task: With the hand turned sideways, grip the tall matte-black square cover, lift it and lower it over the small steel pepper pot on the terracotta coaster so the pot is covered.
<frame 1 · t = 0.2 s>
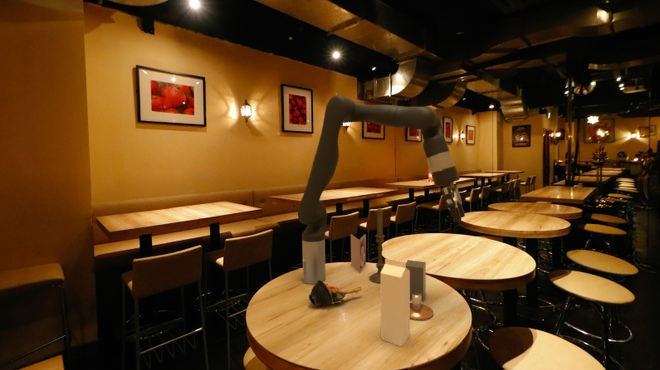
hand: (459, 219, 91), 31 cm above the table, tool tilted 20°, fingers open, 8 cm apart
black cover: (415, 296, 107), on the table
candlestick holder: (380, 279, 123), on the table
milk: (395, 338, 83), on the table
greeting card: (356, 268, 137), on the table
fried shrimp in bowl: (335, 303, 104), on the table
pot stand: (416, 312, 96), on the table
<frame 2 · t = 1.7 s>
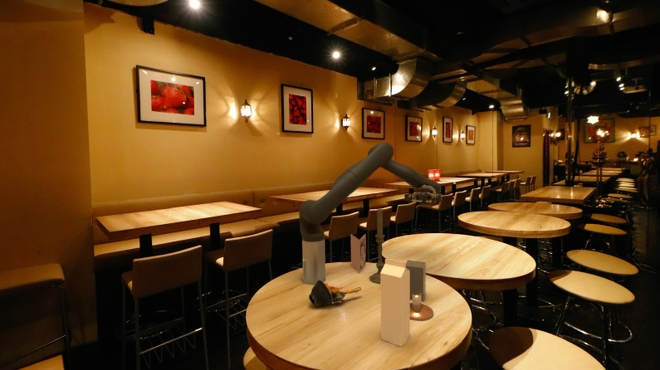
hand: (420, 199, 115), 34 cm above the table, tool horizontal, fingers open, 8 cm apart
nothing on the table moved.
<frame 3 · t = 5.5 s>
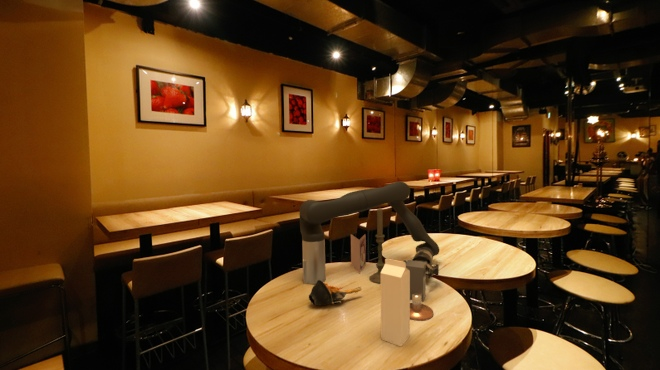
hand: (417, 274, 112), 6 cm above the table, tool horizontal, fingers open, 8 cm apart
nothing on the table moved.
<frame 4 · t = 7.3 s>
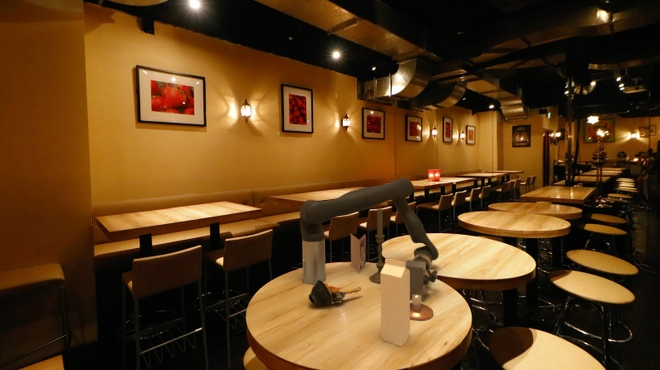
hand: (414, 281, 105), 7 cm above the table, tool horizontal, fingers closed on black cover, 6 cm apart
black cover: (415, 296, 107), on the table, touching gripper
everything else where it was.
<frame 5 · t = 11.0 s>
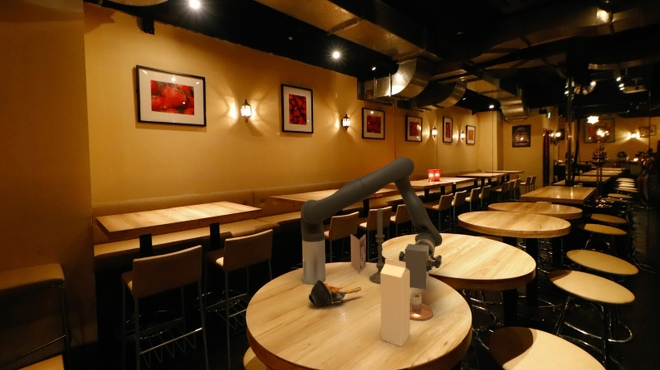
hand: (416, 266, 93), 16 cm above the table, tool horizontal, fingers closed on black cover, 6 cm apart
black cover: (417, 284, 95), point 9 cm above the table, touching gripper
everything else where it was.
when the fingers open (9 cm above the table, at t = 13.0 s): black cover drops 1 cm, resting on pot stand.
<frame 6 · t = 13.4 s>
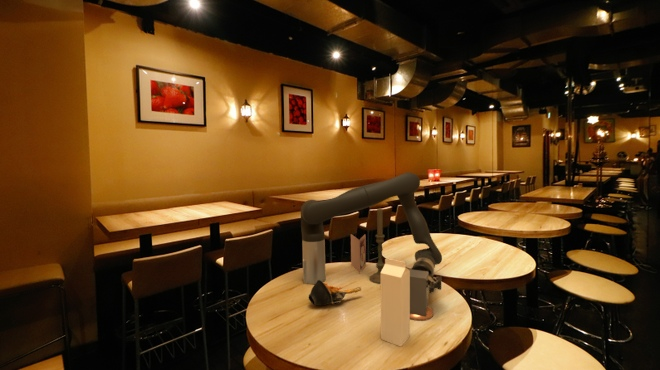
hand: (415, 288, 94), 9 cm above the table, tool horizontal, fingers open, 8 cm apart
black cover: (416, 309, 96), point 1 cm above the table, touching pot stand
everything else where it was.
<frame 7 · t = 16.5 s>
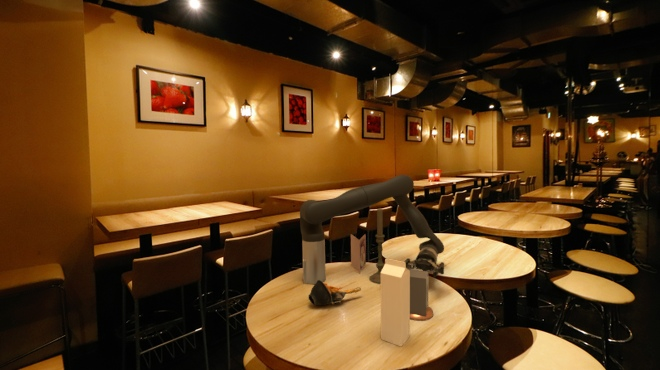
hand: (421, 272, 105), 9 cm above the table, tool horizontal, fingers open, 8 cm apart
nothing on the table moved.
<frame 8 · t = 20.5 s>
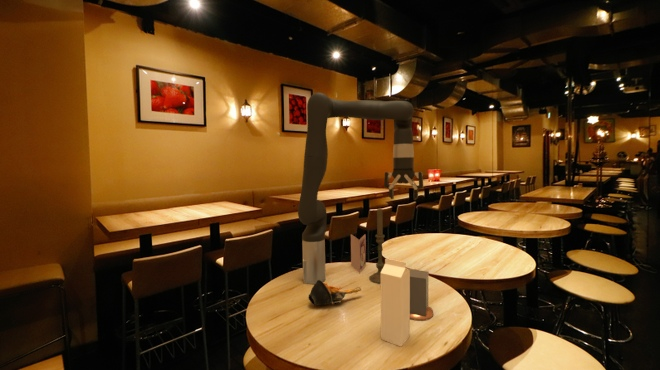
hand: (403, 199, 114), 34 cm above the table, tool pointing down, fingers open, 8 cm apart
nothing on the table moved.
at the end: black cover 0.1 cm from the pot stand (horizontally); black cover point 0.8 cm above the table; black cover tilted 0° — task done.
